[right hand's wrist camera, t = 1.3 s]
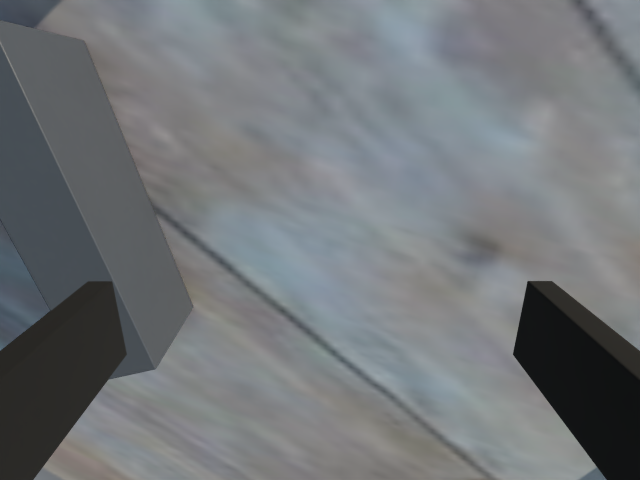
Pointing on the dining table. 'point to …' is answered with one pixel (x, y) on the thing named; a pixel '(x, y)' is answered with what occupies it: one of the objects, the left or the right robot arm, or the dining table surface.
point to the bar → (81, 193)
